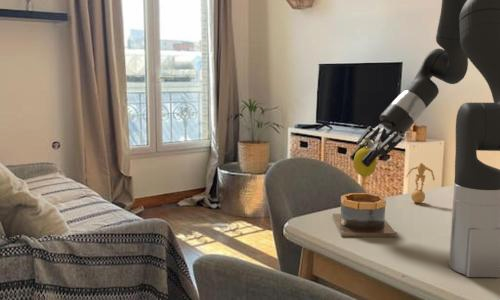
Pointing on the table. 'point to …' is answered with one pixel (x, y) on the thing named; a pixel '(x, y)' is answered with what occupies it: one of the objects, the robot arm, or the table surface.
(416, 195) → the figurine
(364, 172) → the lemon
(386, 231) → the pot on wooden stand
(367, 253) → the table surface
